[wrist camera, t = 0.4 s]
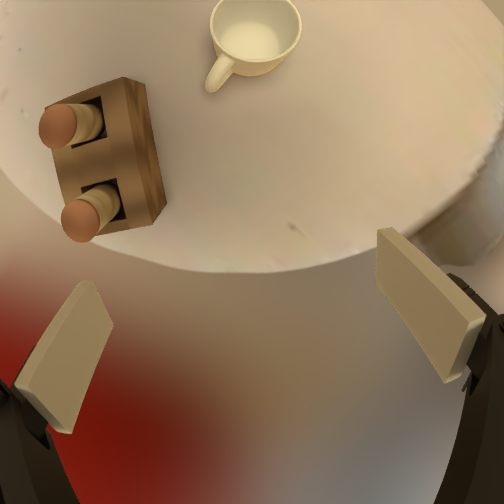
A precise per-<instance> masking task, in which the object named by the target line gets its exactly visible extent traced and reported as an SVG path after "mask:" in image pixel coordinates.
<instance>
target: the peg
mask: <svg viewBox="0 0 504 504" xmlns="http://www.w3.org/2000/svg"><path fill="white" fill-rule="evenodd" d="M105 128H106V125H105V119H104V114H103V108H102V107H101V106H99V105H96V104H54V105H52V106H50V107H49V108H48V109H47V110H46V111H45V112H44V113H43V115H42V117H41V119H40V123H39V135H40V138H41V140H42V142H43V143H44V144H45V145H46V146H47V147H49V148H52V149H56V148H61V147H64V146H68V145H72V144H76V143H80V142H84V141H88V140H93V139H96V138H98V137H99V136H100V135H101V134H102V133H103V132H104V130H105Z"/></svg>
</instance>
